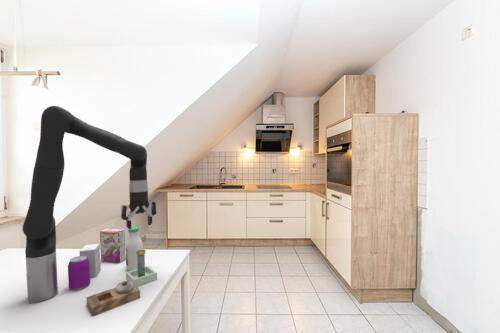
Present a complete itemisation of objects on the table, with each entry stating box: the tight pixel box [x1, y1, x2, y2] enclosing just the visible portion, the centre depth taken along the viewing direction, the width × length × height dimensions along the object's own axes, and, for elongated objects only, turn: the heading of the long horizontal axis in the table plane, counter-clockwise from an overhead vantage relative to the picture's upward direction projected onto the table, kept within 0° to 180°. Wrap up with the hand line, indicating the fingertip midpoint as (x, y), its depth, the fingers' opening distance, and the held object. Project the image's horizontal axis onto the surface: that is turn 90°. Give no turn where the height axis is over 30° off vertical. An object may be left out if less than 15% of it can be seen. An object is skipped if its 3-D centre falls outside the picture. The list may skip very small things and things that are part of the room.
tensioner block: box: [86, 280, 141, 317], centre depth 96 cm, size 16×9×6 cm, turn 134°
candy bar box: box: [99, 228, 126, 264], centre depth 133 cm, size 11×5×16 cm, turn 82°
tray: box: [125, 265, 158, 288], centre depth 113 cm, size 10×10×3 cm
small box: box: [79, 243, 102, 279], centre depth 118 cm, size 8×6×13 cm
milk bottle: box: [125, 226, 144, 272], centre depth 124 cm, size 8×8×20 cm
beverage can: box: [67, 255, 91, 291], centre depth 108 cm, size 8×8×12 cm
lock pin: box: [136, 249, 146, 278], centre depth 113 cm, size 4×4×12 cm
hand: (139, 226), depth 112 cm, fingers open, 8 cm apart
